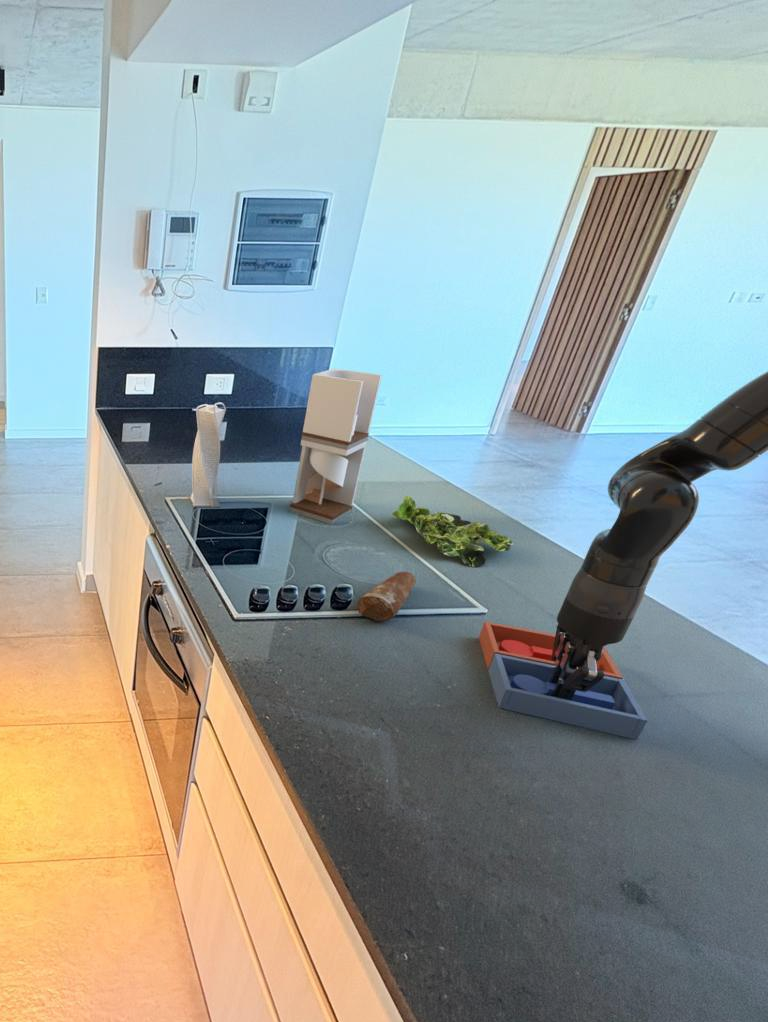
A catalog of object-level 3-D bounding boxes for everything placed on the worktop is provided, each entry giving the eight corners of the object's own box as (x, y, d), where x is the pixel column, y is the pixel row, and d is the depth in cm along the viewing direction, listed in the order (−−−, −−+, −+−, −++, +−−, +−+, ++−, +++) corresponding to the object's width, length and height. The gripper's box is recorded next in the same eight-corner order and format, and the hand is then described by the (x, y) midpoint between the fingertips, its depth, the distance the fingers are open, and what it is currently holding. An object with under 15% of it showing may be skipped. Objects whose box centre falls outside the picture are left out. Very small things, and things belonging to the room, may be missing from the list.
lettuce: (461, 570, 130) (476, 540, 127) (368, 519, 150) (378, 493, 147) (517, 564, 136) (532, 536, 133) (420, 517, 157) (431, 491, 154)
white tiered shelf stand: (288, 510, 160) (312, 374, 144) (309, 500, 166) (334, 368, 150) (331, 524, 152) (361, 381, 137) (351, 512, 158) (382, 374, 143)
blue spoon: (602, 701, 93) (608, 689, 92) (612, 720, 90) (618, 709, 89) (506, 680, 98) (511, 669, 97) (512, 698, 94) (517, 686, 93)
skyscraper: (221, 509, 161) (234, 403, 149) (190, 509, 162) (200, 404, 149) (214, 497, 169) (225, 395, 156) (184, 497, 169) (193, 395, 157)
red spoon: (583, 663, 102) (588, 652, 101) (591, 679, 98) (597, 668, 97) (495, 645, 106) (499, 635, 105) (500, 660, 102) (504, 650, 101)
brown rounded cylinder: (352, 617, 116) (358, 592, 113) (391, 581, 127) (397, 557, 125) (387, 631, 111) (394, 605, 109) (424, 592, 123) (431, 568, 120)
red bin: (594, 661, 103) (602, 643, 101) (613, 696, 95) (623, 678, 94) (478, 637, 109) (484, 621, 108) (487, 669, 101) (494, 651, 100)
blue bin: (614, 698, 95) (623, 679, 93) (637, 740, 87) (647, 720, 85) (487, 670, 101) (494, 653, 99) (498, 707, 93) (506, 689, 92)
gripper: (654, 634, 79) (601, 735, 87) (617, 584, 90) (574, 678, 98) (582, 621, 82) (537, 720, 90) (555, 574, 93) (517, 666, 101)
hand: (556, 697), depth 94 cm, fingers closed on blue spoon, 2 cm apart
